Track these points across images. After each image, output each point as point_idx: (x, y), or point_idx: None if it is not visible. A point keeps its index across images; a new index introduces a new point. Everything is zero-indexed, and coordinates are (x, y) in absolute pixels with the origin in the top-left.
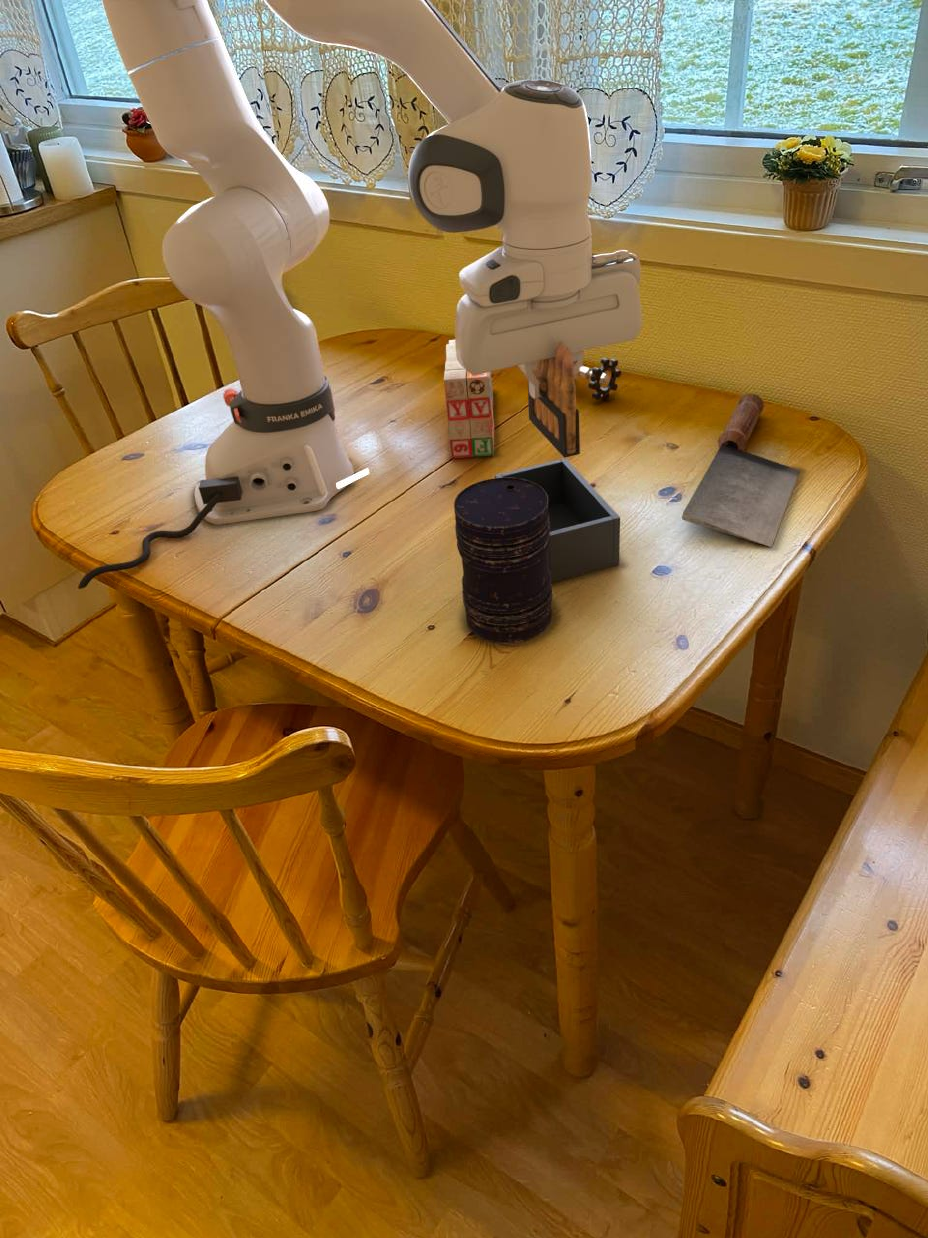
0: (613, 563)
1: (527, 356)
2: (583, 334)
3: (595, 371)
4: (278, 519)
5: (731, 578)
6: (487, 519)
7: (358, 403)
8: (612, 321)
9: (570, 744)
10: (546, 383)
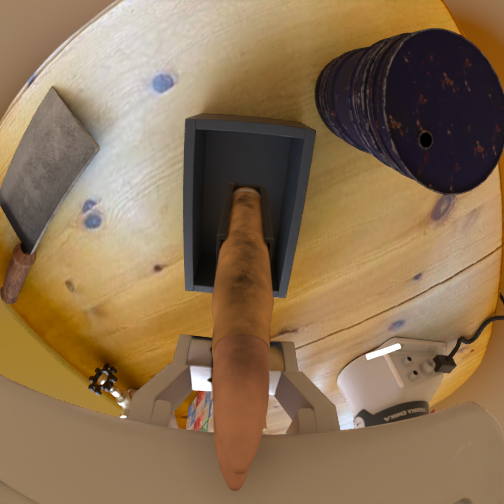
0: (207, 114)
1: (353, 450)
2: (117, 472)
3: (108, 387)
4: (417, 336)
5: (108, 46)
6: (487, 88)
7: (284, 424)
8: (16, 453)
9: None
10: None
